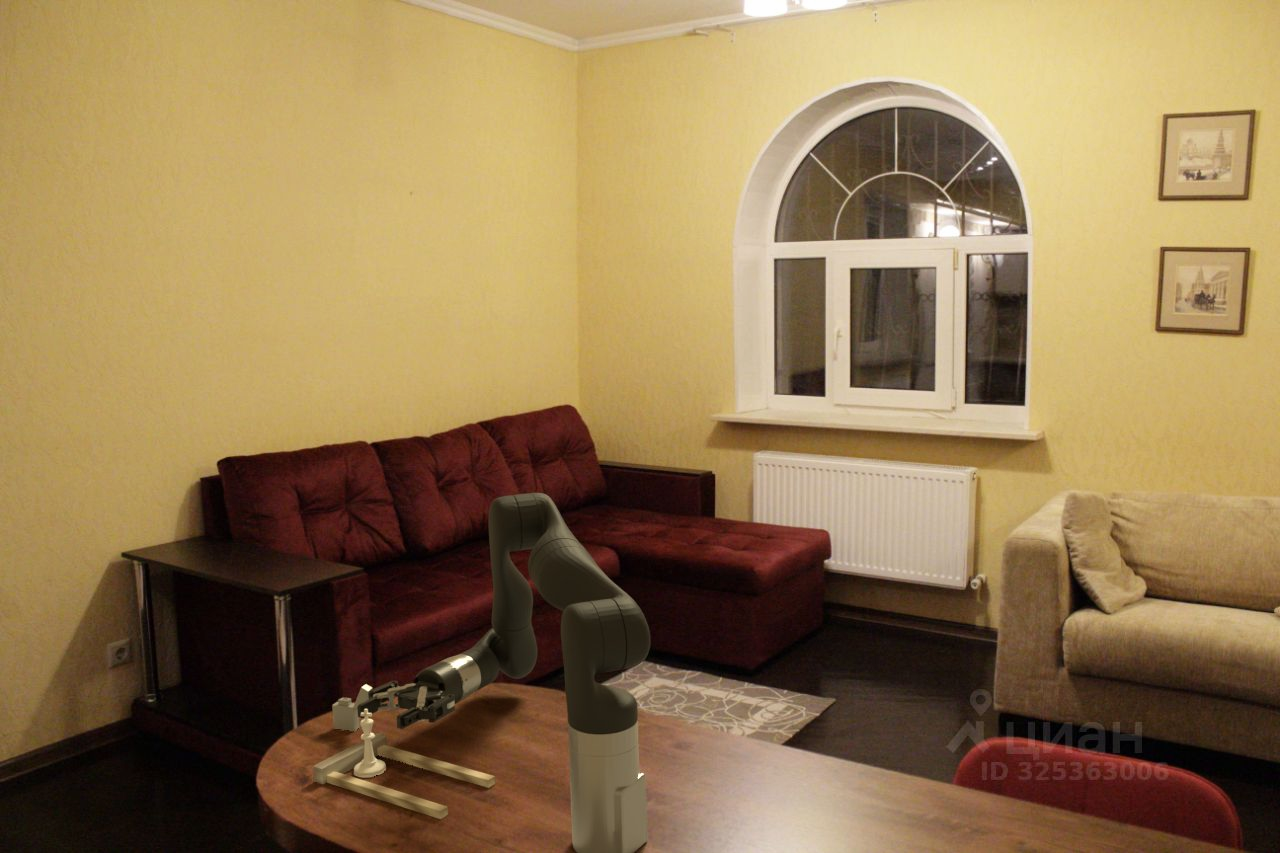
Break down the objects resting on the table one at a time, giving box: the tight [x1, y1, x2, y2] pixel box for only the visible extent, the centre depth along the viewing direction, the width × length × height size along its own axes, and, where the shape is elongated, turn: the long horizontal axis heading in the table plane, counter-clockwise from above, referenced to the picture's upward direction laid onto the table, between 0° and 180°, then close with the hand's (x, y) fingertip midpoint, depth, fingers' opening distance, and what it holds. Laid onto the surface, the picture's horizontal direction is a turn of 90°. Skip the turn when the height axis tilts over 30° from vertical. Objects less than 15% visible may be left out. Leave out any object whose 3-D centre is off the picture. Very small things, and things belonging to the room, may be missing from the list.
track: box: [312, 732, 496, 820], centre depth 159 cm, size 25×14×2 cm, turn 58°
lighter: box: [332, 683, 374, 732], centre depth 178 cm, size 7×2×8 cm, turn 74°
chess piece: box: [353, 709, 387, 779], centre depth 163 cm, size 5×5×10 cm
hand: (378, 717), depth 165 cm, fingers open, 8 cm apart
